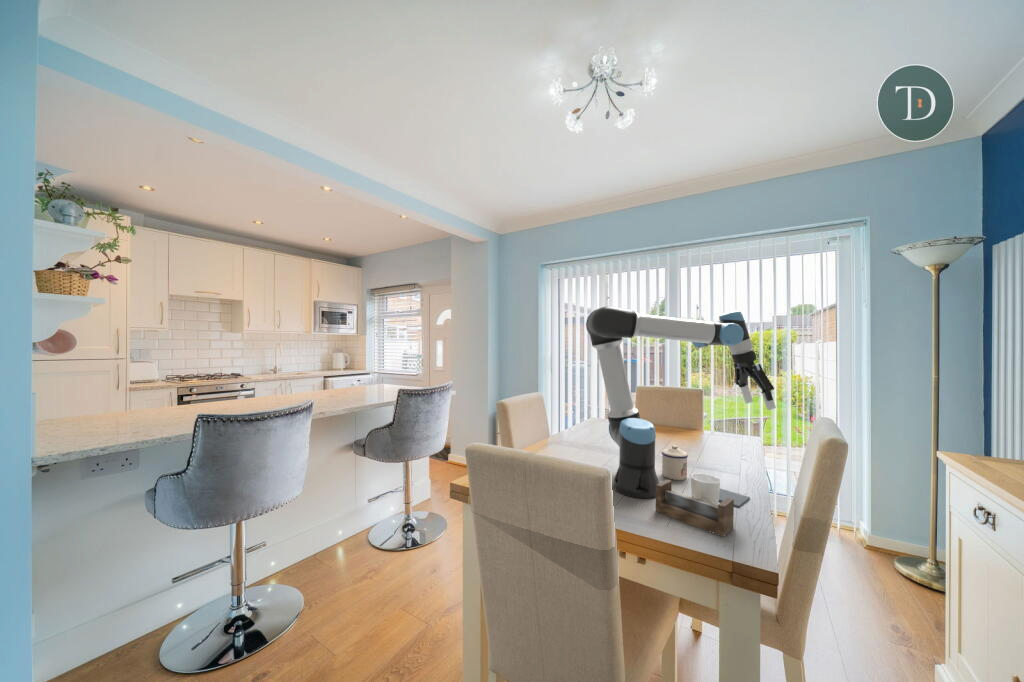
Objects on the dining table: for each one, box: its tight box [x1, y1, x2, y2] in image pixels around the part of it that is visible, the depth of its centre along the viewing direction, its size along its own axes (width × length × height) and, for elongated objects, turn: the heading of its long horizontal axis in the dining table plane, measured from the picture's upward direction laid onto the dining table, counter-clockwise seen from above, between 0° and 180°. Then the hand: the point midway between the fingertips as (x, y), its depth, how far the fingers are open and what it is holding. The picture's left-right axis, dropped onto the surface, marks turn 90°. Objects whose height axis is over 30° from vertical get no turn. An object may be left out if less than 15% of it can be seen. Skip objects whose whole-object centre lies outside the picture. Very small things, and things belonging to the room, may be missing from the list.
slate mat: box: [719, 488, 751, 508], centre depth 124 cm, size 12×10×1 cm
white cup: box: [690, 473, 721, 506], centre depth 114 cm, size 8×8×10 cm
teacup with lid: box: [661, 444, 689, 481], centre depth 144 cm, size 12×9×12 cm
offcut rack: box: [655, 478, 735, 537], centre depth 108 cm, size 19×7×8 cm, turn 41°
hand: (759, 405), depth 140 cm, fingers open, 13 cm apart
